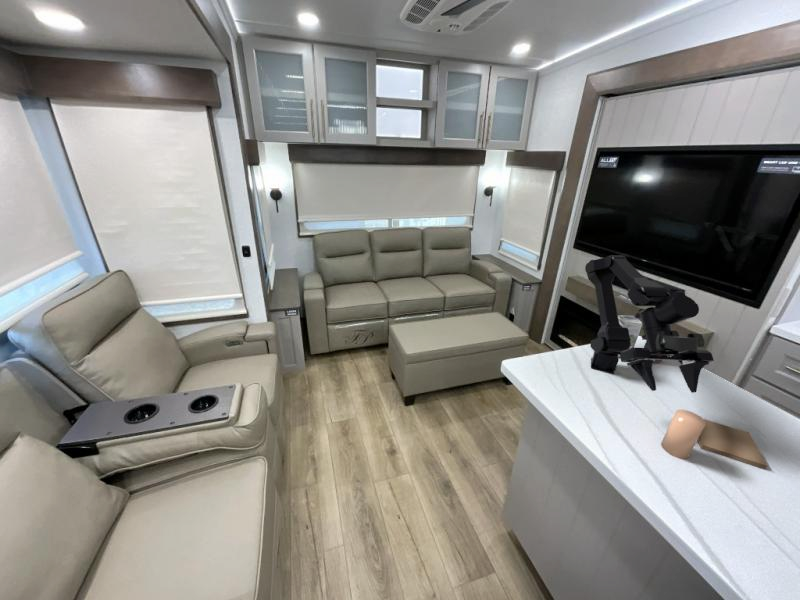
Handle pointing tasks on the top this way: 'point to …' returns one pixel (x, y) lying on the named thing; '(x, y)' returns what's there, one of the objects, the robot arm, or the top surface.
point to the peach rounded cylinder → (682, 433)
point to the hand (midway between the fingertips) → (673, 391)
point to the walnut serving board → (730, 443)
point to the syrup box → (631, 327)
